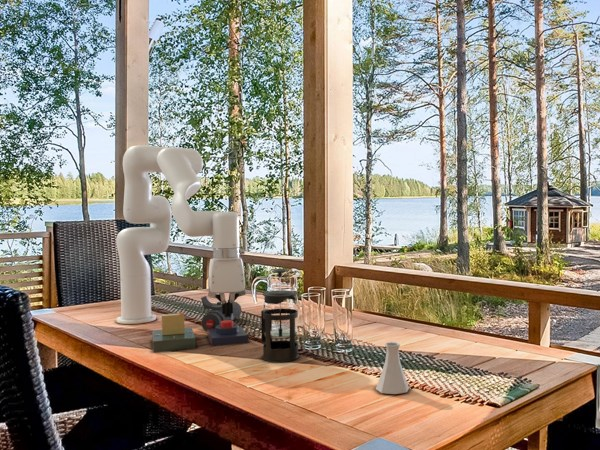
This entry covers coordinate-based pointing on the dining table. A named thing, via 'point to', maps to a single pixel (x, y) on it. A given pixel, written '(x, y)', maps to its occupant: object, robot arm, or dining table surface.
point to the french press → (280, 349)
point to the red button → (226, 323)
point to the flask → (392, 372)
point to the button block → (227, 335)
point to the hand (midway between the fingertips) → (227, 316)
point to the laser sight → (217, 314)
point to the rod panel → (173, 341)
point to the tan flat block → (173, 324)
